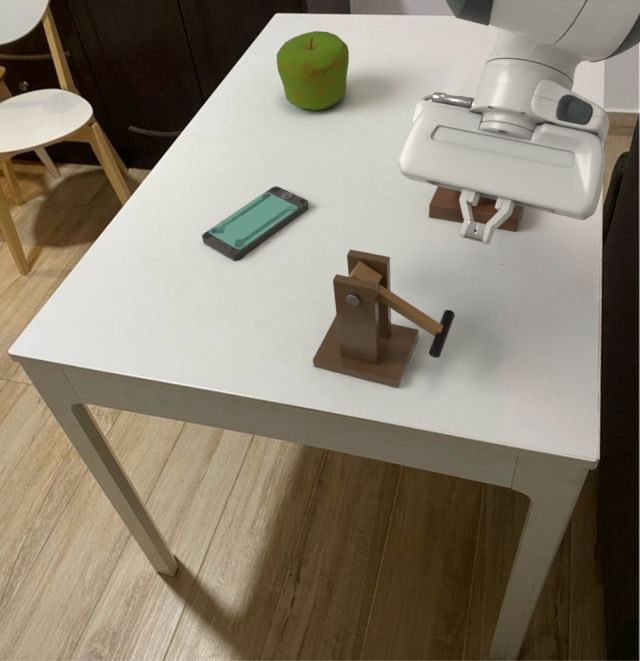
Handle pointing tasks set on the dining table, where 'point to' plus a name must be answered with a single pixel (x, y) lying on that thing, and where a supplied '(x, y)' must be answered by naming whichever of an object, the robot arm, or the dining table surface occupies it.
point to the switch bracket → (365, 328)
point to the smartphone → (255, 222)
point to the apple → (313, 69)
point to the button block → (450, 209)
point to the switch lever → (408, 309)
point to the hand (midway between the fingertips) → (474, 240)
